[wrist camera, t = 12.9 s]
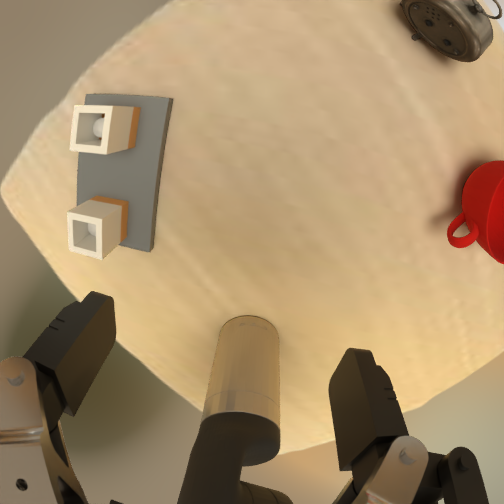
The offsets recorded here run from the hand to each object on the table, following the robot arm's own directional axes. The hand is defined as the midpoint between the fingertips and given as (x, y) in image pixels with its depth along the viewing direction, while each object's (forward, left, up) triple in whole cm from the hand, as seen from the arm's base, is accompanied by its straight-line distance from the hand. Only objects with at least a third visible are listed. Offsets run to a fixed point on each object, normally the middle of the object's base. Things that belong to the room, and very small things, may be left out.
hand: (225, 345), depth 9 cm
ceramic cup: (+6, -30, -28) cm, 42 cm away
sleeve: (+4, +18, -27) cm, 32 cm away
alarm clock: (+26, -16, -28) cm, 42 cm away
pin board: (-2, +18, -28) cm, 33 cm away
